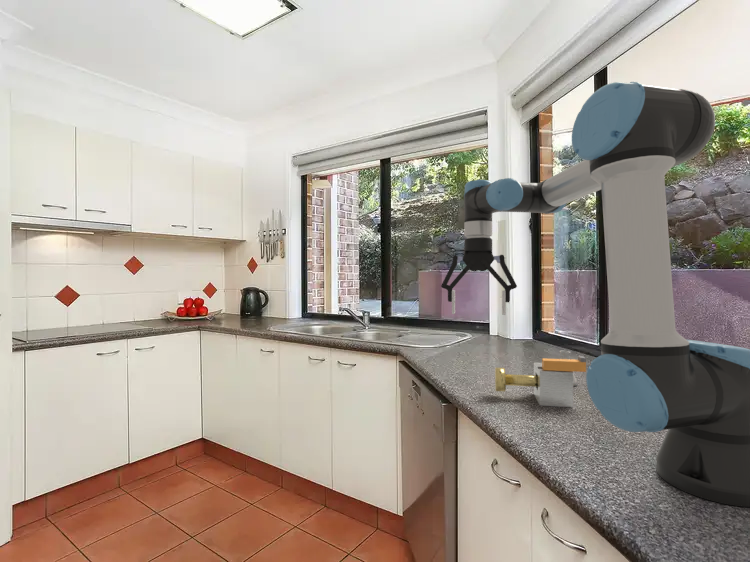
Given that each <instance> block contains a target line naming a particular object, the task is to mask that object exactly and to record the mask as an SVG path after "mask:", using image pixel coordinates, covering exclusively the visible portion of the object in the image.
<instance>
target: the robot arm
mask: <svg viewBox="0 0 750 562" xmlns="http://www.w3.org/2000/svg"><path fill="white" fill-rule="evenodd" d="M576 115H577V116H576V118H575V119H574V120H575V121H574V123H573V127H572V132H571V145H572V150H573V151H574V153H575V154H576V155H577V156H578V157H579V158H581V159H582V161H579V162H577V163H576V164H573V165H572V166H570V167H568V168H566V169H564V170H562V171H560V172H558V173H557V174H554V175H552V176H551V177H549V178H547V179H545V180H543V181H541V182H520V181H517V180H516V179H514V178H511V177H506V178H500V179H498V180H495V181H494V182H492V181H491V180H487V179H474V180H470V181H467V182H466V183H465V185H464V194H463V203H464V204H463V205H464V207H463V208H464V209H463V210H464V214H463V215H464V216H463V218H464V223H463V224H464V226H463V227H464V229H463V230H464V231H463V232H464V233H463V234H464V237H465V239H464V242H463V243H464V250H463V251H464V252H463V253H464V254H463V255H462V256H460V255H455V254H454V255H453V256H452V263H451V266H450V267H449V269H448V271H447V273H446V275H445V277H444V279H443V281H442V283H441V285H440V287H441V288H442V289H444V290H446V291H447V301H448V303H449V302H450V303H451V314H452V315H455V314H456V290H454V287H455V286H457V284H458V283H459V282H460V281H461V279H463V277H464V276H465V275H466V274H467V272H469V270H470V271H472V272H477V271H478V272H479V271H480V272H485V271H488V272H489V273H490V274H491V275H492V276H493V277H494V278H495V279H496V281H497V282H498V283H499V284H500V286H502V287H503V289H504V290H501V314H502V315H503V316H506V308H507V307H506V303H510V301H511V290H514V289H516V288H517V287H518V286H517V283H516V281H515V279H514V278H513V275H512V274H511V271H510V269H509V268H508V266H507V264H506V259H505V255H504V254H500V255H493V239H492V238H491V237H492V236H493V213H495V214H496V213H499V212H500V213H504V212H506V213H529V214H531V213H532V214H534V213H535V214H537V213H538V214H545V215H546V214H556V213H559V212H561V211H563V209H564V207H566V205H567V204H568V203H571V202H573V201H575V200H578V199H581V198H583V197H586V196H588V195H591V194H593V193H596V192H598V191H601V200H602V215H603V232H604V233H603V234H604V246H605V263H606V276H607V280H606V281H607V293H608V308H609V310H608V311H609V325H610V330H609V332H608V333H607V334H606V335H605V336H604V337H602V339H601V340H600V349H601V354H600V355H598V356H597V357H595V358H594V359H592V360H591V362H590V365H589V366H588V367H587V368H586V374H585V375H586V376H585V378H586V379H585V380H586V387H587V390H588V391H587V392H588V395H589V398H590V399H591V401H592V403H593V405H594V406H595V408H596V410H598V411H599V412H600V414H601V416H602V417H603V418H604V419H605V420H606V421H608V422H609V423H610V424H611V425H613V426H614V427H616V428H618V429H620V430H623V431H624V432H625V431H626V432H629V433H644V432H645V433H657V432H661V431H663V430H664V431H665V430H667V431H666V433H665V436H664V437H663V440H662V442H661V445H660V446H659V449H658V451H657V454H656V457H655V458H656V459H655V460H656V463H655V465H656V467H655V468H656V472H657V474H658V475H659V477H660V478H662V479H663V480H664V481H665V482H667V483H668V484H670V485H671V486H673V487H675V488H677V489H679V490H681V491H682V492H685V493H688V494H690V495H692V496H696V497H698V498H701V499H705V500H709V501H712V502H715V503H719V504H723V505H730V506H735V507H742V508H743V507H745V508H747V507H748V508H750V348H747V347H746V348H745V347H742V346H741V347H740V346H736V345H730V344H729V345H727V344H723V343H715V342H710V341H709V342H707V341H701V340H694V339H686V338H685V337H684V336H683V335H681V334H680V333H679V332H678V331H677V329H676V319H675V318H676V316H675V315H676V314H675V305H674V304H675V303H674V301H675V300H674V290H673V287H674V286H673V276H672V275H673V274H672V261H671V251H670V250H671V249H670V235H669V234H670V233H669V224H668V223H669V220H668V210H667V209H668V208H667V206H668V205H667V197H666V196H667V193H666V182H665V180H666V178H665V176H666V175H667V174H668V172H669V171H670V170H671V169H672V168H674V167H676V166H678V165H681V164H683V163H686V162H687V161H689V160H691V159H692V158H694V157H696V156H697V155H698V154H699V153H701V151H703V149H704V148H705V147H706V146H707V145H708V143H709V141H710V140H711V138H712V136H713V134H714V131H715V126H716V115H715V111H714V108H713V107H712V105H711V103H710V101H709V100H707V98H705V97H704V96H703V95H702V94H700V93H698V92H695V91H693V90H688V89H683V88H678V89H677V88H671V87H663V86H655V85H654V86H653V85H647V84H642V83H640V82H638V81H630V82H622V81H621V82H620V81H617V82H616V81H614V82H610V83H608V84H605V85H603V86H601V87H600V88H598V89H596V90H595V91H594V92H593V93H591V95H590V96H589V97H588V99H586V101H585V102H584V103H583V105H582V107H581V108H580V110H579V112H578V113H577V114H576ZM461 261H463V263H464V264H465V265H466V266H465V267H464V268H462V270H461V272H460V273H459V274H458V275H457V276H456V277H455V278H454V279H453V280H452V282H451V283H450V284H448V283H449V282H450V279H451V277H452V276H453V273H454V272H455V270H456V268H457V265H458V264H460V262H461ZM494 261H496V262H497V264H499V265H500V267H501V269H502V271H503V273H504V274H505V277H506V279H507V282H509V284H508V283H507V282H506V281H504V279H503V278H502V277H501V276H500V275H499V273H497V271H496V270H495V269H494V268H493V266H491V265H492V263H493V262H494Z"/></svg>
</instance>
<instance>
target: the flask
mask: <svg viewBox="0 0 750 562" xmlns="http://www.w3.org/2000/svg"><path fill="white" fill-rule="evenodd" d="M559 354H560V356H559V359H570V357H571V356H570V355H571V351H569V350H559ZM572 372H573V387H576V386H578V381H577V378H576V375H575V373H574V371H572Z"/></svg>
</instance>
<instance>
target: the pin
mask: <svg viewBox="0 0 750 562" xmlns="http://www.w3.org/2000/svg"><path fill="white" fill-rule="evenodd" d="M506 386H513V387H514V386H516V387H532V388H534V387H538V376H537V375H534V374H512V373H511V374H510V373H506V368H505V367H494V388H495V389H494V390H495V392H506V388H507V387H506Z"/></svg>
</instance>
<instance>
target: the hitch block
mask: <svg viewBox="0 0 750 562" xmlns="http://www.w3.org/2000/svg"><path fill="white" fill-rule="evenodd" d="M573 373H574V371H573V372H572V371H550V370H543V368H542V362H537V361H536V362H533V375H537V376H538V387H533V395H534V398H535V399H536V401H537V403H538V404H539V406H545V407H559V408H560V407H564V408H574V386H573Z"/></svg>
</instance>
